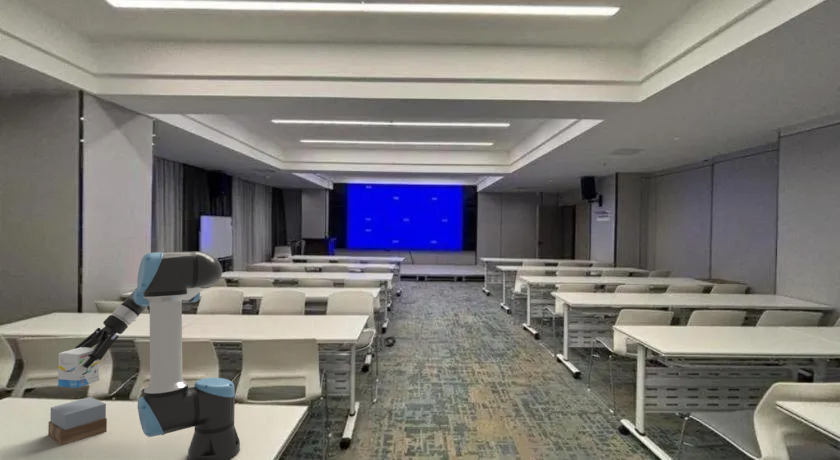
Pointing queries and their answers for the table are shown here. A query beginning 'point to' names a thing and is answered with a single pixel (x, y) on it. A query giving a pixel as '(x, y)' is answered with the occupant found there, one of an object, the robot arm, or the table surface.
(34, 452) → the table surface
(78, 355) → the ink box
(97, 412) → the grey top slab
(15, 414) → the table surface
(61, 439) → the walnut base slab
